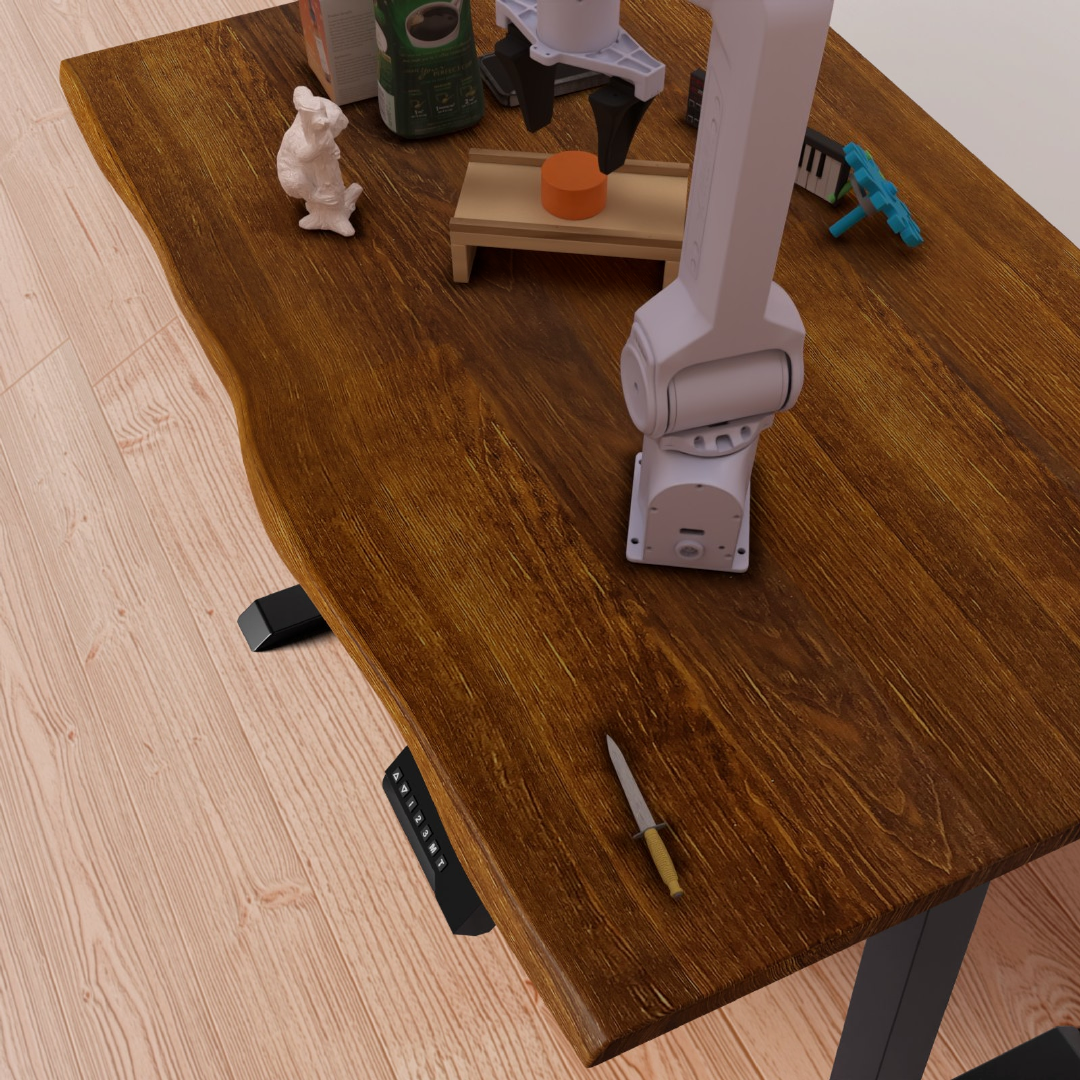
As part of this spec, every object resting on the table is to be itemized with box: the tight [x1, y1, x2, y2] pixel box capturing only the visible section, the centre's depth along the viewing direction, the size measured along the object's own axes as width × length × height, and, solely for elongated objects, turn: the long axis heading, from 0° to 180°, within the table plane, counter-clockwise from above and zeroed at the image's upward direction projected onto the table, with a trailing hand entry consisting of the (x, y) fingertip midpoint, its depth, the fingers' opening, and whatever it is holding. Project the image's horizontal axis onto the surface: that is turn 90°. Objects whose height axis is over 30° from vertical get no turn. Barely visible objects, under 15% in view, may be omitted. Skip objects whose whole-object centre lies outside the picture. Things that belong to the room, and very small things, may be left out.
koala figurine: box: [276, 85, 364, 237], centre depth 94 cm, size 8×7×12 cm
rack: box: [448, 147, 690, 290], centre depth 94 cm, size 10×18×6 cm, turn 83°
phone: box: [478, 51, 610, 107], centre depth 112 cm, size 8×1×15 cm
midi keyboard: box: [685, 67, 852, 208], centre depth 102 cm, size 18×1×5 cm, turn 43°
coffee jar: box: [373, 0, 486, 140], centre depth 101 cm, size 10×8×19 cm
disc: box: [541, 150, 608, 220], centre depth 91 cm, size 5×5×3 cm
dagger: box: [606, 734, 684, 900], centre depth 65 cm, size 11×1×2 cm
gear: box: [828, 141, 924, 248], centre depth 96 cm, size 11×6×10 cm
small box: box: [297, 0, 378, 107], centre depth 108 cm, size 8×6×10 cm
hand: (574, 147), depth 88 cm, fingers open, 7 cm apart
